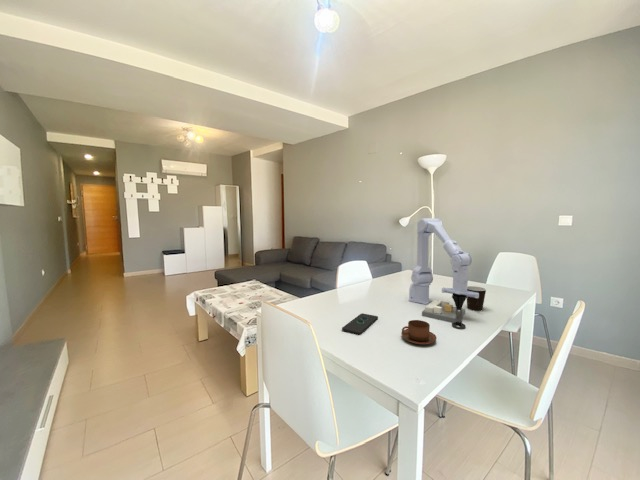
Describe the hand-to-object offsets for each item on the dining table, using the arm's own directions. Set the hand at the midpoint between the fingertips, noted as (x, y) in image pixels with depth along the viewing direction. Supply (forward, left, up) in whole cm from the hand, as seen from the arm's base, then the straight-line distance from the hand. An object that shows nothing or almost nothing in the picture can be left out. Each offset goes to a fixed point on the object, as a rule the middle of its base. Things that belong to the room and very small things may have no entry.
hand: (459, 311), depth 122 cm
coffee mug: (+3, +16, -3) cm, 17 cm away
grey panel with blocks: (-6, 0, -3) cm, 7 cm away
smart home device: (-29, -34, -4) cm, 45 cm away
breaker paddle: (-4, 0, -1) cm, 4 cm away
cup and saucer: (-5, -33, -3) cm, 33 cm away
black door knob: (+3, -11, -3) cm, 12 cm away
